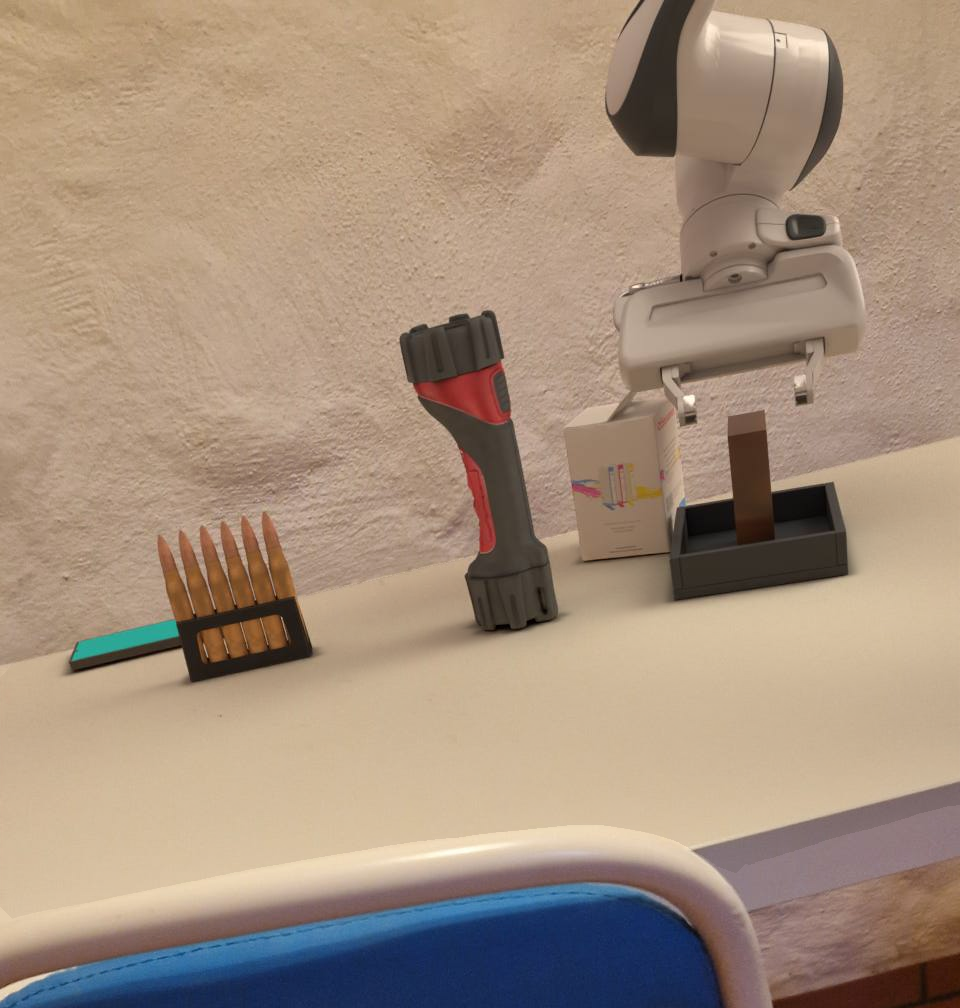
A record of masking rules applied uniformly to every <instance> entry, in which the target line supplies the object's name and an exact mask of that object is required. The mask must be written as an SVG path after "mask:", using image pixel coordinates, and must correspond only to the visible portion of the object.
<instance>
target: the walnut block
mask: <svg viewBox="0 0 960 1008" xmlns="http://www.w3.org/2000/svg"><path fill="white" fill-rule="evenodd" d="M768 444H769V443H768V430H767V420H766V411H765V409H762V410H757V411H751V412H745V413H740V414H734V415H729V416H727V449H728V456H729V457H728V458H729V469H730V481H731V489H732V490H731V492H732V498H733V502H734V513H735V524H736V534H737V545H738V546H739V545H746V544H752V543H759V542H765V541H771V540H775V532H774V519H773V506H772V493H771V492H772V481H771V471H770V469H771V468H770V457H769V455H770V454H769V445H768Z"/></svg>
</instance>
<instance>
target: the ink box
mask: <svg viewBox="0 0 960 1008" xmlns="http://www.w3.org/2000/svg"><path fill="white" fill-rule="evenodd" d="M637 393H638V392H632V391H631V390H629V392H628V393H627V394H625V396H624V397H623V398H622V399H621V400H620V402H615V403H607V404H603V405H594V406H589V407H586V408H585V409H583V410H582V411H581V412H580V413H579V414H577V415H576V417H574V418H573V419H572V420H571V421H569V422H568V423H567V424H566V425H564V427H563V428H562V430H563V435H564V443H565V449H566V458H567V463H568V469H569V470H568V471H569V477H570V482H571V483H570V484H571V490H572V498H573V505H574V511H575V518H576V519H575V520H576V527H577V532H578V540H579V546H580V553H581V560H582V561H583V562H586V561H594V560H603V559H614V558H625V557H632V556H633V557H634V556H644V555H650V554H651V555H652V554H663V553H671V546H672V538H673V531H674V524H675V516H676V509H677V507H683V506H685V507H686V506H687V505H686V495H685V486H684V476H683V468H682V467H683V466H682V459H681V449H680V439H679V431H678V430H679V429H678V422H677V421H678V420H677V412H676V411H677V409H676V408H675V407H674V406H673V405H672V403H671V402H670V401H669V400H668V399H667V398H666V396H665V395H664V396H663V395H662V396H658V397H652V398H646V399H641V400H634V401H633V399H634V397H635V396H636V395H637Z"/></svg>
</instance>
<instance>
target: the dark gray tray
mask: <svg viewBox="0 0 960 1008" xmlns="http://www.w3.org/2000/svg"><path fill="white" fill-rule="evenodd" d="M771 493H772V506H773V519H774V532H775V540H771V541H765V542H759V543H752V544H746V545H739V546H738V545H737V534H736V524H735V513H734V502H733V497H732V498H726V499H719V500H714V501H713V500H712V501H707V502H700V503H694V504H689V505H686V507H685V506H683V507H677V509H676V516H675V524H674V531H673V538H672V546H671V551H670V552H669V553H670V554H669V567H670V575H671V576H670V577H671V584H672V594H673V600H674V601H678V600H685V599H693V598H698V597H704V596H710V595H711V596H712V595H718V594H724V593H731V592H738V591H744V590H751V589H758V588H764V587H771V586H778V585H784V584H793V583H797V582H804V581H805V582H807V581H812V580H819V579H825V578H831V577H833V578H834V577H839V576H845V575H849V562H848V561H849V559H848V558H849V557H848V542H847V541H848V537H847V530H846V525H845V523H844V518H843V514H842V510H841V506H840V501H839V498H838V494H837V490H836V486H835V482H834V481H828V482H825V483H823V482H822V483H816V484H810V485H804V486H798V487H794V488H793V487H792V488H785V489H780V490H774V491H771Z"/></svg>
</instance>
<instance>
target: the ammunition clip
mask: <svg viewBox="0 0 960 1008" xmlns="http://www.w3.org/2000/svg"><path fill="white" fill-rule="evenodd" d="M240 527H241V529H240V530H241V537H242V544H243V547H244V552H245V557H246V561H247V569H246V568H245V565H244V563H243V560H242V556H241V554H240V552H239V551H240V550H239V548H238V545H237V543H236V540H235V538H234V537H235V536H234V535H233V533H232V531H231V528H230V527H229V526H228V524H227V523H226V522H225V520H221V522H220V529H219V530H220V540H221V541H220V542H221V545H222V550H223V554H224V559H225V564H226V568H227V575H226V573H225V570H224V569H223V566H222V562H221V561H220V558H219V554H218V551H217V549H216V545H215V543H214V540H213V539H212V537H211V535H210V533H209V531H208V530H207V528H206V527H205V526H204V525H202V524H201V525H200V527H199V542H200V548H201V554H202V558H203V561H204V567H205V570H206V575H207V576H206V577H207V578H205V577H204V574H203V573H202V571H201V567H200V565H199V563H198V560H197V559H198V558H197V556H196V554H195V550H194V548H193V546H192V543H191V542H190V539H189V538H188V536H187V535H186V533H185V532H184V531H183V530H182V529H180V530H179V531H178V548H179V553H180V557H181V562H182V565H183V570H184V574H185V581H186V585H185V583H184V580H183V579H182V577H181V574H180V572H179V569H178V566H177V564H176V560H175V558H174V555H173V553H172V551H171V549H170V546H169V544H168V543H167V541H166V540H165V538H164V537H163V536H162V535H161V534H158V535H157V540H156V541H157V553H158V557H159V558H158V559H159V562H160V566H161V569H162V575H163V578H164V584H165V590H166V591H165V592H166V595H167V598H168V601H169V605H170V608H171V611H172V614H173V617H174V618H173V619H175V621H176V626H177V630H178V633H179V637H180V641H181V645H180V646H181V648H182V653H183V656H184V660H185V664H186V668H187V670H188V674H189V680H190V682H192V683H193V682H198V681H202V680H207V679H211V678H217V677H221V676H226V675H231V674H235V673H240V672H244V671H248V670H253V669H257V668H261V667H262V668H263V667H267V666H272V665H276V664H282V663H285V662H290V661H295V660H300V659H304V658H308V657H311V656H312V655H313V650H314V647H313V644H312V641H311V638H310V635H309V632H308V629H307V625H306V622H305V619H304V616H303V613H302V609H301V606H300V603H299V599H298V596H297V593H296V589H295V585H294V581H293V577H292V573H291V570H290V566H289V563H288V561H287V558H286V556H285V553H284V552H283V548H282V545H281V541H280V539H279V536H278V532H277V529H276V527H275V525H274V523H273V521H272V519H271V517H270V515H269V514H268V512H267V511H265V510H264V511H262V514H261V528H262V536H263V541H264V545H265V550H266V555H267V561H268V566H267V564H266V562H265V559H264V557H263V554H262V551H261V549H260V546H259V542H258V539H257V537H256V534H255V531H254V529H253V526H252V525H251V523H250V522H249V520H248V518H247V517H246V516H245V515H242V516H241V521H240ZM247 571H248V572H247ZM206 579H207V581H206ZM186 587H187V588H186ZM208 587H209V588H208ZM187 590H188V591H187ZM210 593H211V594H210ZM190 600H191V601H190ZM220 627H221V629H222V632H223V635H222V633H221V630H220ZM200 631H201V635H202V638H203V640H202V639H201V636H200V633H199V632H200Z"/></svg>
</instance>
